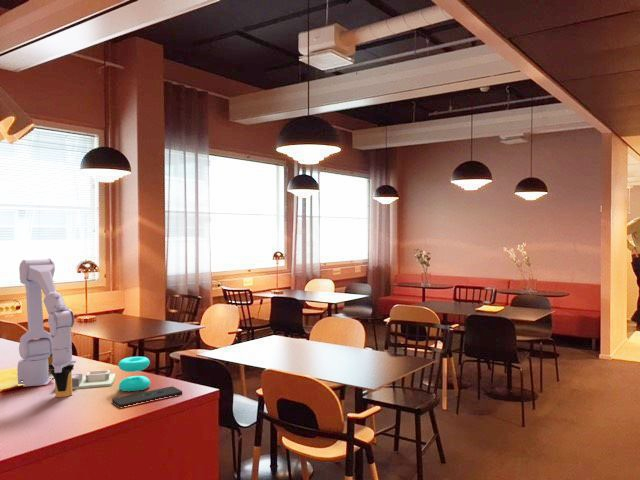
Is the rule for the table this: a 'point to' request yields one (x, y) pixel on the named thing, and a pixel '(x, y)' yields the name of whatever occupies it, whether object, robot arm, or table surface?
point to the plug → (68, 388)
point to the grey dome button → (76, 379)
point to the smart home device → (146, 396)
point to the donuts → (135, 381)
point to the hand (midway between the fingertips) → (63, 389)
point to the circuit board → (95, 382)
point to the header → (98, 375)
